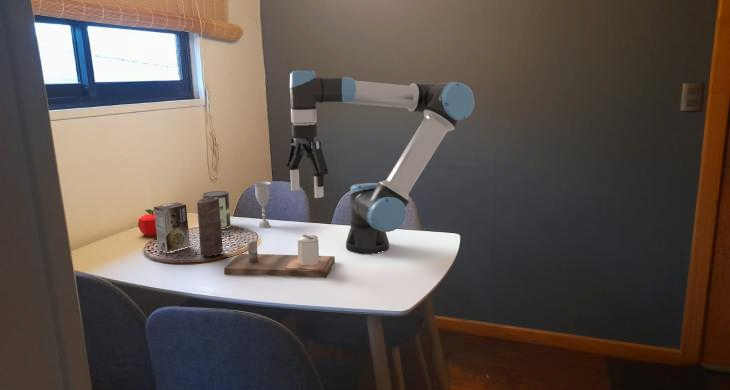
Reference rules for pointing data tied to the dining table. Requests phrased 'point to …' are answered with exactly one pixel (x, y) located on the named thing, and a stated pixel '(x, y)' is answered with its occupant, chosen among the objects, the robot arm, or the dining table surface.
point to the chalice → (263, 200)
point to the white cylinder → (308, 250)
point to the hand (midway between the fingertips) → (306, 193)
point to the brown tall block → (209, 226)
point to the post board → (276, 265)
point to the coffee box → (172, 226)
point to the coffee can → (221, 206)
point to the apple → (148, 224)
